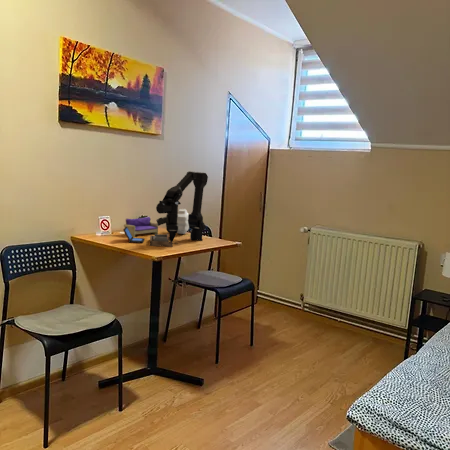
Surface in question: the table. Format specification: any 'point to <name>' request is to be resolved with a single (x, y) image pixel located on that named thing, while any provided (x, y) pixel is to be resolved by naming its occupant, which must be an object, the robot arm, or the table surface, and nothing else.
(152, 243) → the bay
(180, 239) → the table surface
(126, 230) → the handheld game console
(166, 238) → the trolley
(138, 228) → the toy sofa
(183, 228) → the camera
